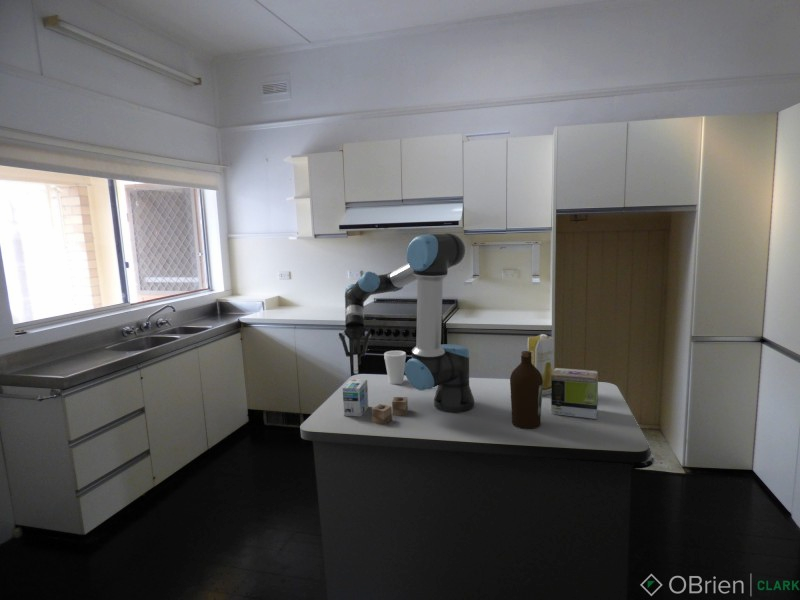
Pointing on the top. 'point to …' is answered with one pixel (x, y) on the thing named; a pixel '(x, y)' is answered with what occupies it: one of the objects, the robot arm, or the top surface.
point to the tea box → (574, 392)
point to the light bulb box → (355, 397)
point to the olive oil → (526, 393)
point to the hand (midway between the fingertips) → (355, 371)
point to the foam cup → (395, 366)
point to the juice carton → (542, 358)
